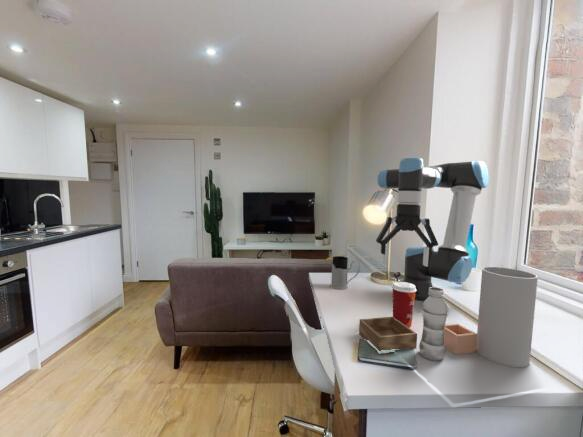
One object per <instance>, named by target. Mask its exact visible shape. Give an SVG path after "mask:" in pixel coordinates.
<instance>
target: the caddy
mask: <svg viewBox="0 0 583 437" xmlns="http://www.w3.org/2000/svg"><path fill="white" fill-rule="evenodd" d="M358 326H359V327H358V334H359V336H360V337H361V338H362V339H363V340H364V339H366V340H369V341H370V342H371V343H372V344H373V345H374V346H375V347H376V348H377V349H378V350H379V351H381V350H391V349H405V348H413V349H417V345H418V344H417V341H418V333H417V332H416V331H414V330H412V329H411V327H410V328H408V327H407V326H405V325H404V324H403V323H401V322H400V321H398V320H397V319H396V318H394V317H393V316H385V317H375V318H374V317H372V318H360V319H359V323H358ZM405 350H406V349H405Z"/></svg>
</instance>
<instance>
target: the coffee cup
mask: <svg viewBox="0 0 583 437" xmlns="http://www.w3.org/2000/svg"><path fill="white" fill-rule="evenodd" d="M391 289H392V317H394V318H396V319H397V320H398V321H400V322H401V323H403V324H404V325H405V326H407V327H408V328H410V329H411V327H412V324H413V323H412V322H413V315H414V307H415V306H414V305H415V301H416V300H415V292H416V291H417V290H416V287H415V285H414V284H411V283H407V282H403V281H395V282H393V283H392V285H391Z"/></svg>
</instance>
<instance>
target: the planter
mask: <svg viewBox="0 0 583 437" xmlns="http://www.w3.org/2000/svg"><path fill="white" fill-rule="evenodd" d="M444 329H445V330H444V345H445V349H448V350H449V351H451V352H452V353H454V354H455V355H462V354H470V353H476V352H477V349H476V346H477V332H475V331H473V330H471V329H469V328H467V327H466V326H463V325H461V324H460V323H451V324H445V328H444Z"/></svg>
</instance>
